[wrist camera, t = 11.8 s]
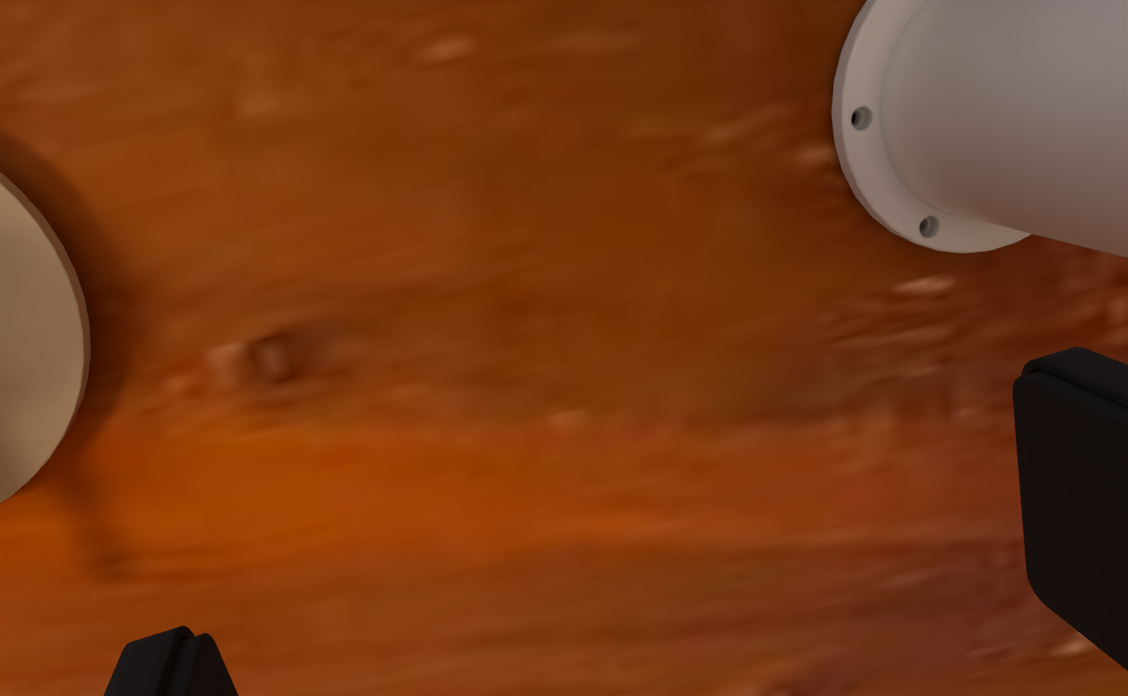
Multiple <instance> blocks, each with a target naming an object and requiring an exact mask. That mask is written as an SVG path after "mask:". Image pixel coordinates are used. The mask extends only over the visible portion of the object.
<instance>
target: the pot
mask: <svg viewBox="0 0 1128 696" xmlns="http://www.w3.org/2000/svg"><path fill="white" fill-rule="evenodd" d="M90 357H91V342H90V324H89V319H88V313H87V308H86V302H85V298H84V295H83V292H82V289H81V286H80V283H79V280H78V277H77V274H76V271H75V269H74V267H73V265H72V263H71V261H70V259H69V257H68V255H67V253H66V251H65V249H64V247H63V245H62V243H61V242H60V240H59V239H58V237H57V236H56V234H55V232H54V231H53V229H52V228H51V226H50V225H49V223H48V222H47V220H46V219H45V218H44V216H43V215H42V214H41V213H40V212H39V211H38V209H37V208H36V207H35V206H34V205H33V203H32V202H31V201H30V200H29V199H28V198H27V196H26V195H25V194H24V193H23V192H22V191H21V190H20V189H19V188H17V187H16V186H15V185H14V184H13V183H12V182H11V181H10V180H9V179H8V178H7V177H6V176H5V175H4V174H3V173H1V172H0V503H1V502H3V501H4V500H6V499H7V498H9V497H10V496H12V495H13V494H14V493H15V492H16V491H18V490H19V489H20V488H21V487H22V486H23V485H25V484H26V483H27V482H28V481H29V480H30V479H32V478H33V476H34V475H35V474H36V473H37V472H38V471H39V470H40V468H41V467H42V466H43V465H44V464H45V463H46V462H47V460H48V459H49V458H50V457H51V456H52V454H53V453H54V452H55V451H56V450H57V448H58V447H59V445H60V443H61V442H62V440H63V439H64V437H65V436H66V434H67V433H68V431H69V429H70V428H71V426H72V424H73V421H74V419H75V417H76V415H77V412H78V410H79V408H80V406H81V403H82V399H83V395H84V392H85V388H86V384H87V381H88V374H89V365H90Z"/></svg>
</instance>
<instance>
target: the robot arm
mask: <svg viewBox="0 0 1128 696" xmlns="http://www.w3.org/2000/svg"><path fill="white" fill-rule="evenodd" d="M853 113H855V116H856V117H855V121H854V122H853V123H852V122H851V118H852V114H853ZM831 114H832V124H833V134H834V144H835V147H836V151H837V154H838V158H839V161H840V165H841V168H842V172H843V174H844V176H845V178H846V180H847V181H848V183H849V185H850V187H851V189H852V191H853V193H854V195H855V197H856V198H857V199H858V200H859V202H860V203H861V204H862V205H863V207H864V208H865V209H866V210H867V212H868V213H869V214H870V215H871V216H872V217H873V218H874V219H875V220H876V221H878V222H879V223H880V224H881V225H883V226H884V227H885V228H887V229H888V230H889V231H890V232H892V233H893V234H896V235H898V236H900V237H902V238H904V239H906V240H908V241H910V242H912V243H914V244H918V245H921V246H925V247H928V248H931V249H934V250H937V251H946V252H955V253H972V252H982V251H990V250H993V249H997V248H1000V247H1003V246H1006V245H1010V244H1013V243H1016V242H1018V241H1020V240H1022V239H1023V238H1025V237H1027V236H1029V235H1031V234H1035V235H1039V236H1043V237H1047V238H1051V239H1055V240H1058V241H1062V242H1066V243H1070V244H1074V245H1078V246H1082V247H1086V248H1090V249H1094V250H1098V251H1102V252H1106V253H1110V254H1114V255H1118V256H1122V257H1126V258H1128V0H867V1H866V3H865V4H864V6H863V7H862V9H861V10H860V12H859V14H858V15H857V17H856V18H855V20H854V22H853V25H852V27H851V29H850V32H849V34H848V36H847V39H846V41H845V43H844V46H843V48H842V51H841V55H840V59H839V63H838V67H837V71H836V75H835V79H834V86H833V100H832V113H831ZM921 222H922V224H921V226H920V223H921ZM1013 405H1014V418H1015V430H1016V443H1017V456H1018V469H1019V481H1020V494H1021V507H1022V520H1023V533H1024V545H1025V558H1026V571H1027V576H1028V580H1029V582H1030V585H1031V587H1032V589H1033V591H1034V593H1035V594H1036V595H1037V597H1038V598H1039V599H1040V600H1041V601H1042V602H1043V603H1044V604H1045V605H1046V606H1047V607H1048V608H1050V609H1051V610H1052V611H1053V612H1055V613H1056V614H1057V615H1058V616H1060V617H1061V618H1062V619H1063V620H1065V621H1066V622H1067V623H1068V624H1070V625H1071V626H1072V627H1073V628H1075V629H1076V630H1077V631H1078V632H1080V633H1081V634H1082V635H1083V636H1085V637H1086V638H1087V639H1088V640H1090V641H1091V642H1092V643H1093V644H1095V645H1096V646H1097V647H1098V648H1100V649H1101V650H1102V651H1103V652H1105V653H1106V654H1107V655H1108V656H1110V657H1111V658H1112V659H1113V660H1115V661H1116V662H1117V663H1118V664H1120V665H1121V666H1122V667H1123V668H1125V669H1126V670H1127V671H1128V365H1126V364H1124V363H1121V362H1119V361H1116V360H1114V359H1111V358H1109V357H1106V356H1103V355H1101V354H1098V353H1096V352H1093V351H1091V350H1088V349H1086V348H1082V347H1073V348H1069V349H1066V350H1063V351H1060V352H1056V353H1053V354H1050V355H1047V356H1044V357H1040V358H1037V359H1034V360H1031V361H1029V362H1028V363H1027V364H1026V365H1025V366H1024V368H1023V371H1022V375H1021V377H1018V378H1017V379H1016V380H1015V382H1014V385H1013ZM104 696H238V694H237V691H236V689H235V687H234V684H233V682H232V680H231V677H230V675H229V673H228V671H227V668H226V666H225V664H224V661H223V659H222V657H221V654H220V652H219V650H218V647H217V645H216V643H215V641H214V639H213V638H212V637H211V636H210V635H209V634H207V633H204V634H201V635H198V636H194V634H193V633H192V632H191V630H190V629H189V628H187V627H185V626H181V627H178V628H174V629H171V630H168V631H165V632H162V633H158V634H155V635H152V636H149V637H146V638H142V639H139V640H136V641H133V642H130V643H128V644H127V645H126V646H125V648H124V649H123V651H122V654H121V656H120V658H119V661H118V663H117V665H116V668H115V670H114V672H113V675H112V677H111V679H110V682H109V684H108V686H107V689H106V691H105V693H104Z"/></svg>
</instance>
